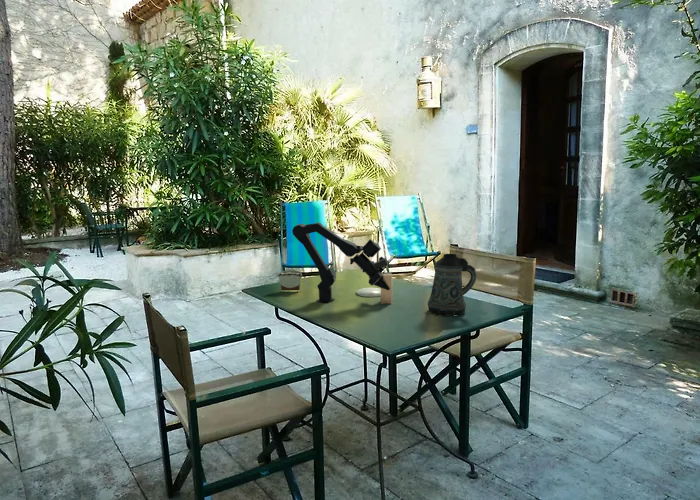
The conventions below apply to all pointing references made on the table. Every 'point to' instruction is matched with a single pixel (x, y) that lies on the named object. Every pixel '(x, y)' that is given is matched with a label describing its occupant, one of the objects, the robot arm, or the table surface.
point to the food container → (290, 280)
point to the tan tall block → (387, 294)
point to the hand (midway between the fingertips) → (389, 288)
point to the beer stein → (450, 286)
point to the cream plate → (369, 292)
